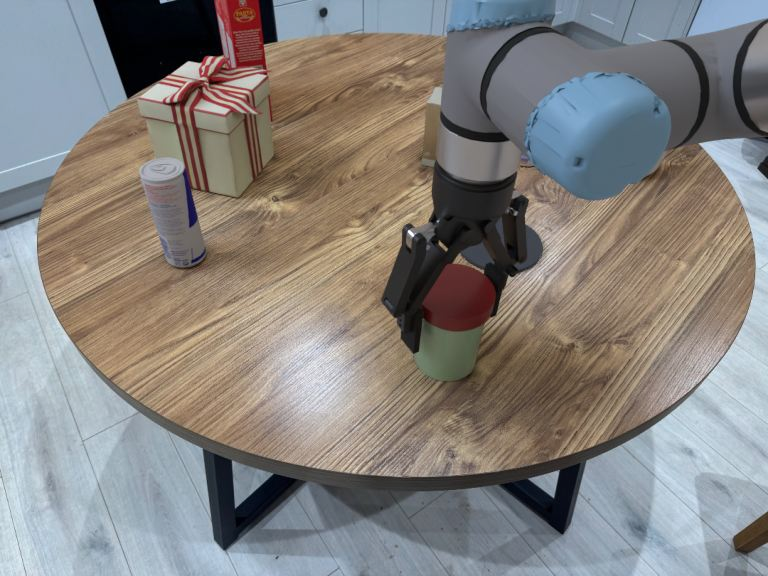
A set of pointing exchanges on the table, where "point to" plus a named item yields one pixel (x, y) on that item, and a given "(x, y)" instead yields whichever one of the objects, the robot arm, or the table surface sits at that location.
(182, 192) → the beverage can
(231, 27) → the food packaging
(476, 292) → the lid
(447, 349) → the jar
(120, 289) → the table surface
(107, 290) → the table surface
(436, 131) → the cosmetic box
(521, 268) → the coaster
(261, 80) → the gift box
